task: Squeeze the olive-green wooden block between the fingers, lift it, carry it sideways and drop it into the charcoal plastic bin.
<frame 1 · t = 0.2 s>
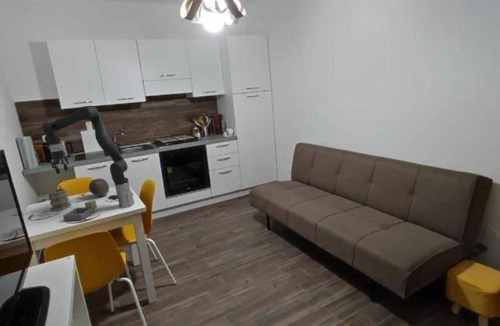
hand: (62, 172, 219), 28 cm above the table, fingers open, 8 cm apart
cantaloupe: (101, 196, 248), on the table
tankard: (62, 206, 233), on the table
olive block: (91, 209, 220), on the table
bin: (79, 216, 207), on the table
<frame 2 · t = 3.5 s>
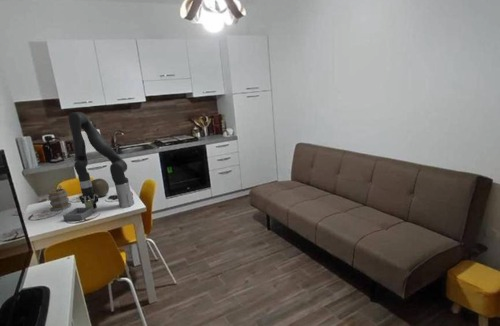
hand: (91, 208, 220), 1 cm above the table, fingers closed on olive block, 5 cm apart
olive block: (91, 209, 220), on the table, touching gripper
everything else where it was.
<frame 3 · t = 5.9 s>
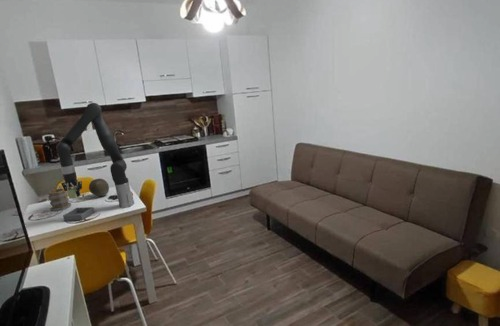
hand: (74, 196, 204), 15 cm above the table, fingers closed on olive block, 5 cm apart
olive block: (75, 197, 204), point 14 cm above the table, touching gripper
everything else where it was.
when the fingers open (4 cm above the table, at t = 8.3 s): olive block drops 2 cm, resting on bin.
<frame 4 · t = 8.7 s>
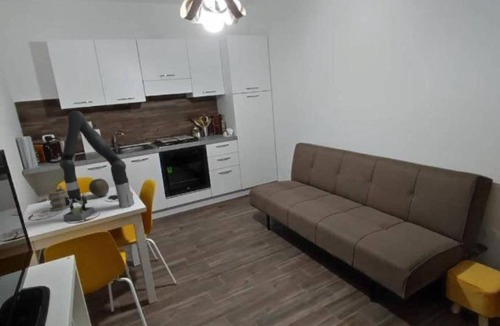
hand: (78, 210, 206), 4 cm above the table, fingers open, 8 cm apart
olive block: (79, 215, 207), point 1 cm above the table, touching bin
everything else where it was.
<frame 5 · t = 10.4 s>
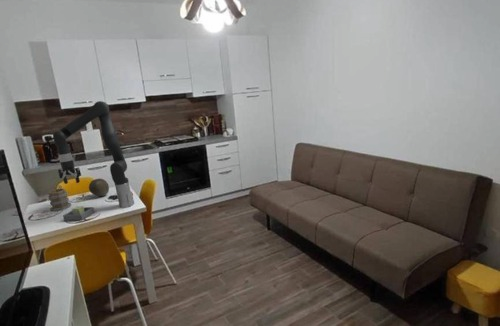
hand: (72, 183, 206), 23 cm above the table, fingers open, 8 cm apart
nothing on the table moved.
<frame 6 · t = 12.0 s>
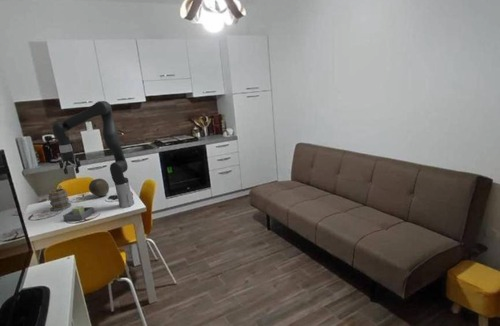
hand: (72, 173, 212), 28 cm above the table, fingers open, 8 cm apart
nothing on the table moved.
at the end: olive block inside the target area on the bin (0.1 cm from its centre), point 0.6 cm above the bin's base; the gripper is holding nothing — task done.
